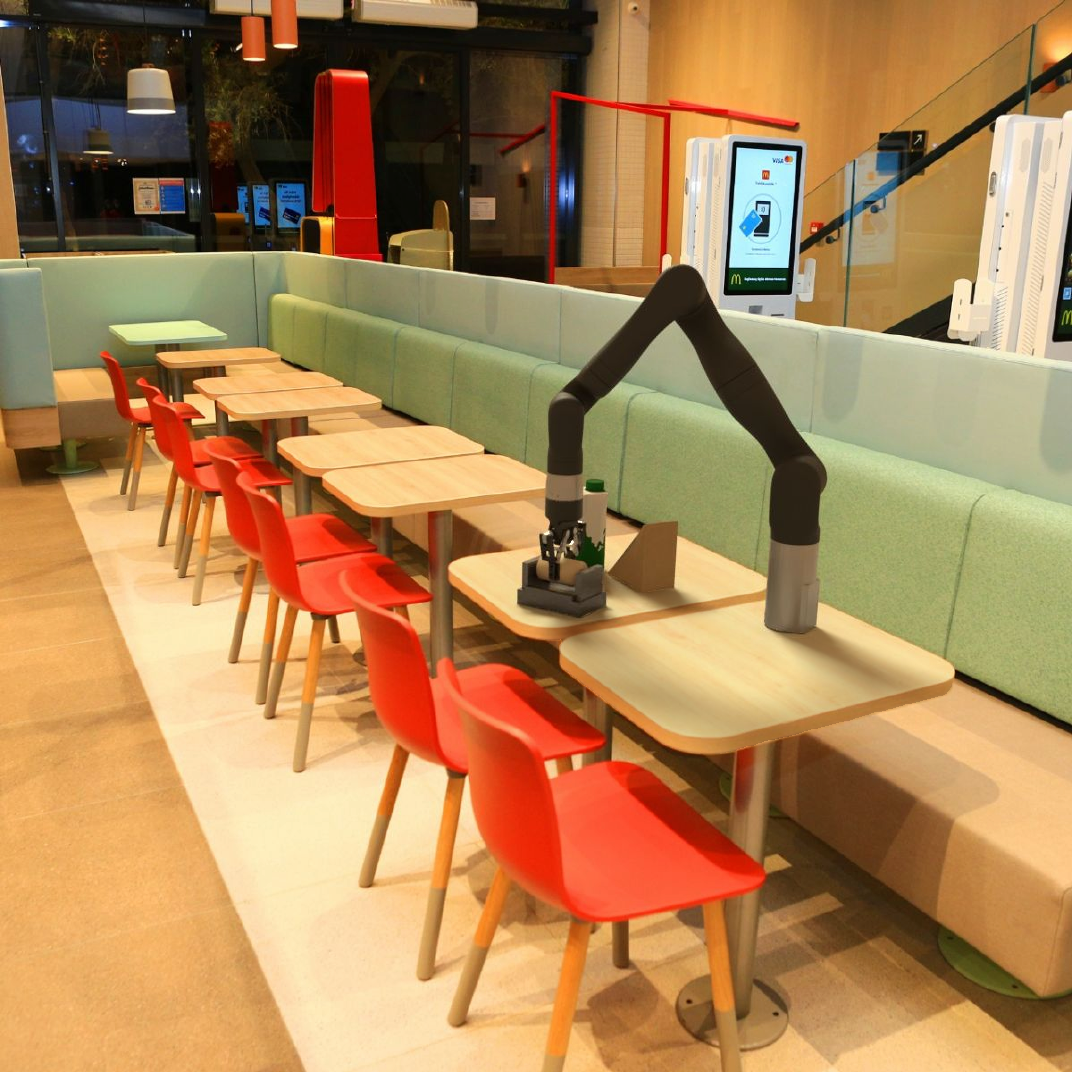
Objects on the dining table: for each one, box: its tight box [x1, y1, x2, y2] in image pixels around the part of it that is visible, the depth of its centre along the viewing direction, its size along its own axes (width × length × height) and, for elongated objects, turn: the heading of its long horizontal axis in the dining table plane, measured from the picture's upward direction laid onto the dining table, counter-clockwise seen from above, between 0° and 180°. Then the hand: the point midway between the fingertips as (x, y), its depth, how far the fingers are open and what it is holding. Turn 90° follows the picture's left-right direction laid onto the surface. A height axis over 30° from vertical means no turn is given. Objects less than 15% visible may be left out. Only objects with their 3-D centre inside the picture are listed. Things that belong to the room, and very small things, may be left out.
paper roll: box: [536, 553, 588, 587], centre depth 230 cm, size 9×5×5 cm, turn 55°
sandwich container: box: [607, 520, 679, 594], centre depth 247 cm, size 9×15×15 cm, turn 26°
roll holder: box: [516, 554, 608, 619], centre depth 231 cm, size 15×10×8 cm, turn 55°
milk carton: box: [563, 478, 610, 573], centre depth 254 cm, size 9×9×20 cm
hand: (562, 576), depth 230 cm, fingers closed on paper roll, 5 cm apart
